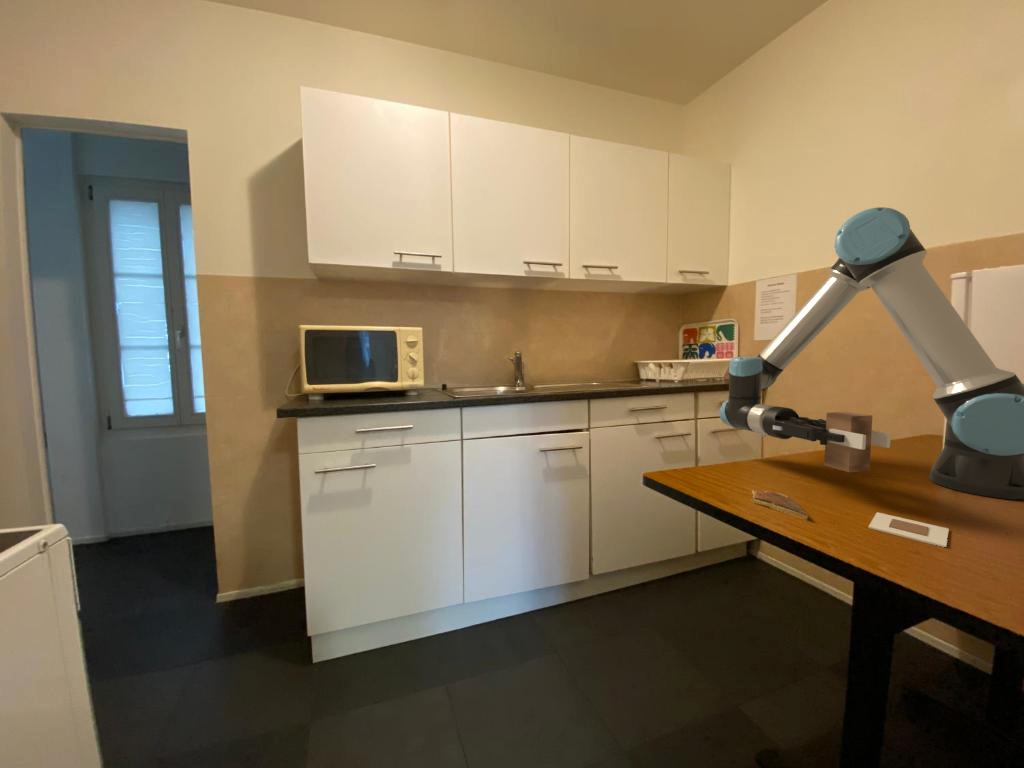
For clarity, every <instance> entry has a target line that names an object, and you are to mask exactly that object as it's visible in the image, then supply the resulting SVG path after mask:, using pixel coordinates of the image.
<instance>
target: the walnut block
mask: <svg viewBox="0 0 1024 768" xmlns="http://www.w3.org/2000/svg"><path fill="white" fill-rule="evenodd" d="M825 420H826V429H827V432H829V429H836V430H841V431H847V432H852V433H857V434H863V435H866V446H865V449H863V450H862V449H857V448H853V447H848V446H844V445H839V444H835V443H830V442H829V440H827V445H824V462H823V463H824V464H823V465H824V466H825V467H828V468H832V469H835V470H839V471H843V472H847V473H856V472H865V471H867V472H868V471H870V467H871V466H870V465H871V451H872V450H871V448H872V445H871V432H872V430H873V415H872V414H866V413H857V412H851V411H839V412H835V411H834V412H826V419H825Z"/></svg>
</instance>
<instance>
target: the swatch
mask: <svg viewBox="0 0 1024 768" xmlns="http://www.w3.org/2000/svg"><path fill="white" fill-rule="evenodd" d="M867 527H868V528H867V529H870V530H874V531H879V532H881V533H886V534H890V535H895V536H898V537H901V538H906V539H909V540H913V541H917V542H922V543H925V544H929V545H933V546H936V545H937V547H940V546H941V548H944V547H946V548H947V545H948V539H947V538H948V536H949V530H950V529H949V528H948V527H945V526H944V527H943V526H939V525H935V524H930V523H926V522H921V521H917V520H913V519H908V518H904V517H900V516H897V515H896V516H895V515H890V514H887V513H882V512H878V511H877V512H876V513H875V514H874V517H872V519H871V521H870V523H869V525H868V526H867Z"/></svg>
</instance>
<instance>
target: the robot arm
mask: <svg viewBox="0 0 1024 768" xmlns="http://www.w3.org/2000/svg"><path fill="white" fill-rule="evenodd" d="M834 251H835V253H836V255H837V256H838V259H837V260H836V262H835V263H834V264H833V265H832V267H831V268H829V276H828V278H826V279H825V280H824V282H822V284H821V285H820V286H819V287H818V288H817V290H816V291H815V292H814V293H813V294H812V295H811V296H810V297H809V299H807V301H806V302H804V304H803V305H802V306H801V307H800V308H799V310H798V311H797V312H796V313H794V315H793V316H792V317H791V318H790V319H789V320H788V321H787V323H786V324H785V325H784V326H783V327H782V328H781V329H780V330H779V331H778V332H777V334H776V335H775V336H774V337H773V338H772V339H771V341H770V342H768V344H766V346H765V347H764V348H763V349H762V350H761V351H760V352H759V354H758V355H757V356H737V357H736V356H735V357H732V358H731V359H730V361H729V368H728V373H729V375H728V376H729V377H728V378H729V379H728V380H729V381H728V398H727V400H725V401H724V402H723V403H722V404H721V406H720V408H719V411H718V415H719V418H720V420H721V421H722V422H723V424H725V425H726V426H730V427H733V428H734V429H737V430H743V431H744V430H745V431H747V432H748V431H749V432H753V433H756V434H757V433H758V434H761V437H767V436H770V437H772V438H776V439H780V440H789V439H791V438H792V437H794V438H798V439H802V440H805V441H809V442H810V441H811V442H817V441H819V445H820V446H821V445H822V446H825V445H827V440H829V442H830V443H835V444H839V445H844V446H848V447H853V448H857V449H862V450H863V449H865V446H866V435H863V434H857V433H852V432H847V431H841V430H836V429H829V432H827V429H826V419H822V418H818V419H812V418H810V417H806V416H800V415H799V414H798V412H797V411H796V410H794V409H793V408H789V407H785V406H777V405H772V404H766V403H762V400H761V399H762V389H763V390H764V389H768V388H770V387H771V386H772V385H774V384H775V382H776V381H777V379H778V377H779V376H780V375H781V374H782V373H783V372H784V371H785V369H786V368H787V367H788V366H789V365H791V363H792V362H793V361H794V360H795V359H796V358H797V357H798V356H799V355H800V354H801V353H802V352H803V351H804V349H806V347H808V345H810V344H811V342H812V341H813V340H815V338H816V337H817V336H818V335H819V334H820V333H822V331H823V330H824V329H825V328H826V327H827V326H828V325H829V324H830V323H831V322H832V321H833V320H835V318H836V317H837V316H838V314H840V312H841V311H842V310H843V309H845V307H847V305H848V304H849V303H851V301H852V300H854V298H855V297H856V296H857V295H858V294H859V293H860V292H863V291H868V290H869V289H870V288H871V289H872V291H873V292H874V294H875V295H876V297H877V298H878V299H879V301H880V302H881V304H882V305H883V308H884V309H885V310H886V311H887V314H889V317H890V318H891V319H892V321H893V322H894V323H895V325H896V327H897V328H898V330H899V331H900V333H901V334H902V336H903V337H904V339H905V340H906V341H907V343H908V345H909V346H910V348H911V350H912V351H913V352H914V354H915V355H916V357H917V358H918V360H919V361H920V363H921V365H922V366H923V368H924V369H925V370H926V372H927V374H928V375H929V376H930V378H931V380H932V382H933V383H934V384H935V385H936V390H935V392H933V395H932V399H933V400H934V403H936V405H937V406H938V408H939V409H940V412H941V413H942V414H943V415H944V417H945V419H946V423H945V432H944V441H943V442H944V443H943V448H942V450H941V452H940V454H939V455H938V457H937V458H936V460H935V462H934V463H933V465H932V467H931V468H930V473H929V480H930V481H931V482H933V483H934V484H936V485H938V486H939V485H940V486H942V487H944V488H948V489H950V490H951V489H952V490H954V491H955V490H956V491H959V492H963V493H968V494H972V495H978V496H984V497H990V498H997V499H1006V500H1016V499H1024V383H1023V382H1022V381H1021V379H1019V377H1018V376H1017V374H1016V373H1015V372H1013V371H1009V370H1005V369H1000V368H998V367H997V366H996V364H995V363H994V361H992V359H991V357H990V355H988V353H987V352H986V351H985V349H984V348H983V346H982V345H981V343H980V342H979V341H978V339H977V338H976V337H975V335H974V333H972V331H971V330H970V328H969V327H968V325H967V324H966V323H965V321H964V320H963V318H962V317H961V315H960V314H959V312H957V310H956V308H955V307H954V306H953V304H952V303H951V301H950V300H949V299H948V297H947V296H946V294H945V293H944V291H943V290H942V289H941V287H940V286H939V284H938V283H937V282H936V280H935V279H934V278H933V277H932V275H931V274H930V272H929V271H928V269H927V267H925V265H924V260H925V258H926V255H927V254H928V251H927V250H926V248H925V247H924V245H923V244H922V243H921V241H920V240H919V239H918V237H917V236H916V234H915V233H914V231H912V229H911V224H910V221H909V219H908V218H907V216H906V215H905V214H903V213H902V212H901V211H899V210H897V209H894V208H891V207H886V206H885V207H884V206H882V207H881V206H878V207H871V208H868V209H864V210H862V211H860V212H858V213H856V214H853V216H851V217H849V218H848V219H847V220H846V221H845V222H844V223H843V224H842V225H841V226H840V228H839V229H838V231H837V233H836V235H835V239H834ZM891 436H892V435H891V433H890V432H884V431H879V430H873V429H872V432H871V446H875V447H880V448H889V449H890V448H891Z"/></svg>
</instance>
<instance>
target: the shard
mask: <svg viewBox="0 0 1024 768" xmlns="http://www.w3.org/2000/svg"><path fill="white" fill-rule="evenodd" d="M751 493H752V495H753V496H752V497H751V499H750V500H751V503H752V504H756V505H759V506H763V507H766V508H768V507H769V509H772V510H774V511H777V512H780V513H783V514H784V515H788V516H791V517H795V518H797V519H801V520H804V521H808V518H809V517H810V515H809V514H808V513H807V512H806V511H805V510H803V508H802V507H801V506H800V504H798V502H797V501H795V499H793V498H792V497H791V496H790V495H785V494H782V493H779V492H776V491H775V492H774V491H766V490H757V489H756V490H755V489H754V490H751Z"/></svg>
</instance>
